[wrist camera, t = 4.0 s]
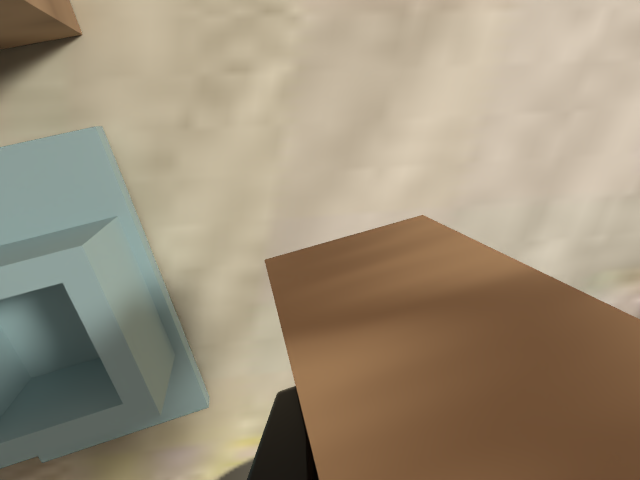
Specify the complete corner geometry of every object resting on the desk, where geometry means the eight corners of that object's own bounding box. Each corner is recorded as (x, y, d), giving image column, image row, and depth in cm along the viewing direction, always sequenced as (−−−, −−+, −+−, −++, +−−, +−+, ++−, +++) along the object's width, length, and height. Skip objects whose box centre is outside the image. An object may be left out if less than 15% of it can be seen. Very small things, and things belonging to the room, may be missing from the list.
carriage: (49, 449, 19) (-8, 552, 14) (-121, 174, 14) (-286, 199, 10) (209, 396, 20) (203, 476, 15) (102, 126, 15) (48, 128, 11)
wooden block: (303, 394, 10) (511, 1177, 3) (264, 259, 9) (467, 1075, 1) (439, 348, 11) (929, 880, 3) (422, 215, 9) (1214, 594, 2)
